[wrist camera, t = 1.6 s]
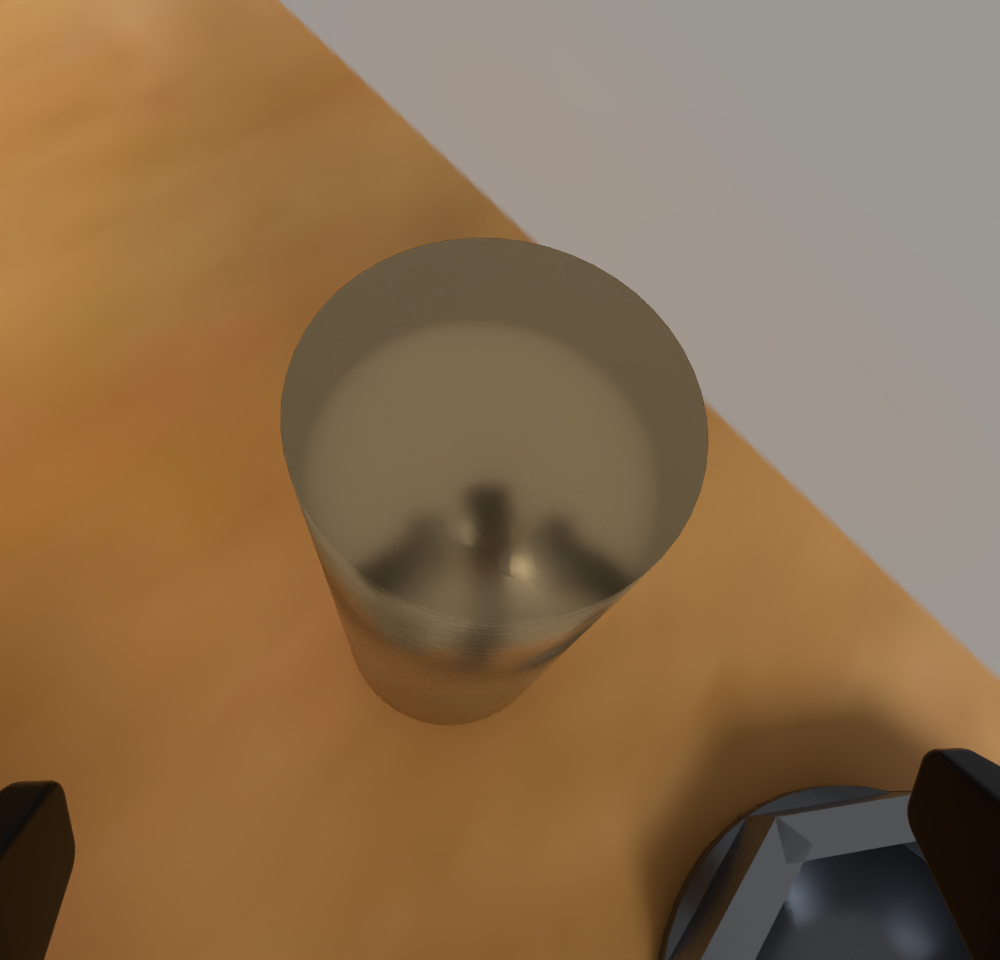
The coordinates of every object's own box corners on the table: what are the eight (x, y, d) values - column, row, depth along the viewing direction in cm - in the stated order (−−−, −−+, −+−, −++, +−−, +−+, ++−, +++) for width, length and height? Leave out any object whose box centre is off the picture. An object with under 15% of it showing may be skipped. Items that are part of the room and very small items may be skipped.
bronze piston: (563, 709, 21) (756, 594, 9) (356, 738, 20) (288, 649, 8) (531, 519, 23) (658, 230, 11) (342, 537, 22) (273, 245, 10)
